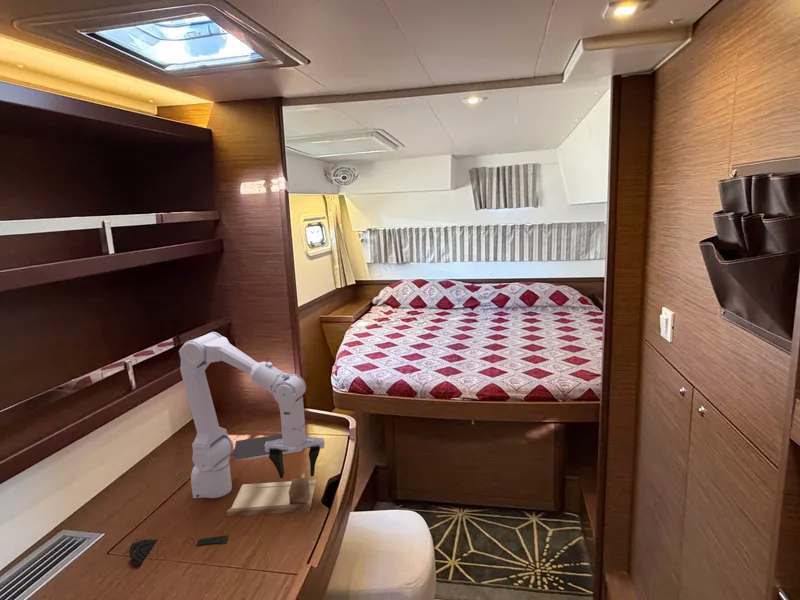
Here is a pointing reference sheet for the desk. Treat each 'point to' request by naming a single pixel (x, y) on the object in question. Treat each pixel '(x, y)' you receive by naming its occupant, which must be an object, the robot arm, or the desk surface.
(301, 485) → the marking gauge
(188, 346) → the robot arm
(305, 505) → the plywood board
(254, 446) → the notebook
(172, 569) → the desk surface
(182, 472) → the hand saw
